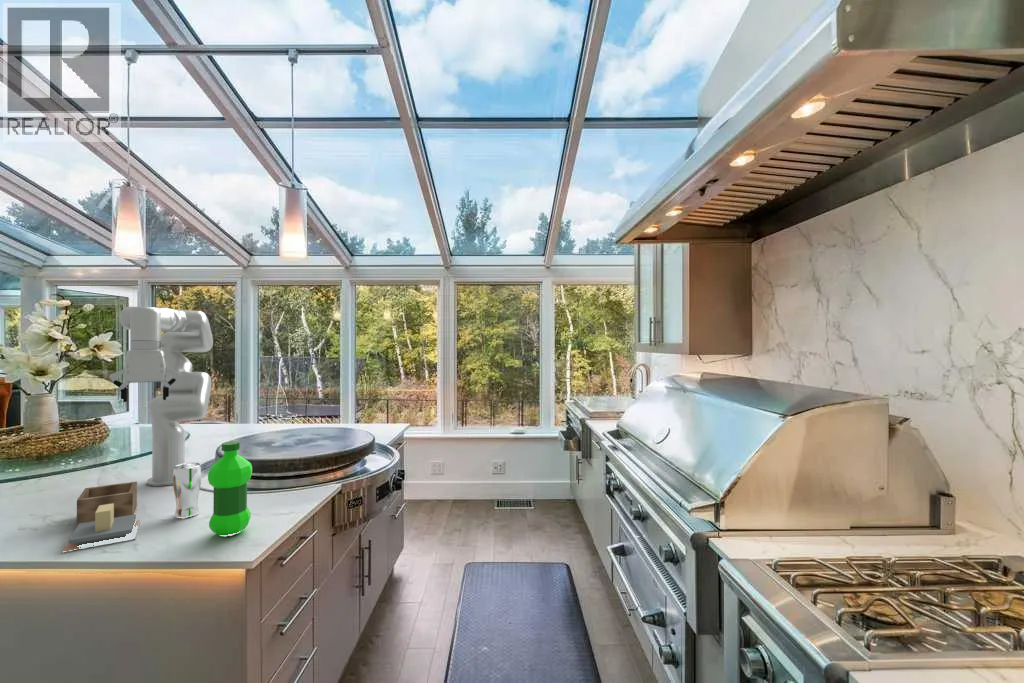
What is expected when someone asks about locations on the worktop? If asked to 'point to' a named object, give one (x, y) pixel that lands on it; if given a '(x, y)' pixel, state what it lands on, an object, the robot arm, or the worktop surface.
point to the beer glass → (186, 488)
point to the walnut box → (107, 500)
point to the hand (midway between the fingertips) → (145, 400)
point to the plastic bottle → (230, 491)
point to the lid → (103, 526)
